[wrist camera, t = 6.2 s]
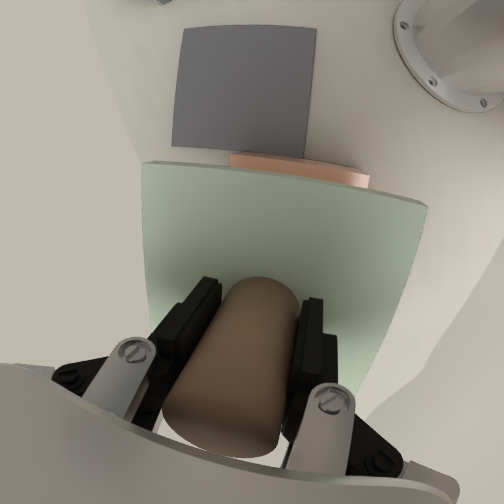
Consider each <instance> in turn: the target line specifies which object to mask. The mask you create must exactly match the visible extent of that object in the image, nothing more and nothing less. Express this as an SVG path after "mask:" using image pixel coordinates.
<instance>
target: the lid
mask: <svg viewBox="0 0 504 504" xmlns="http://www.w3.org/2000/svg"><path fill="white" fill-rule="evenodd" d="M427 211H428V206H426V205H425V204H423V203H422V202H420V201H417V200H413V199H409V198H405V197H401V196H397V195H393V194H389V193H385V192H380V191H376V190H371V189H366V188H362V187H357V186H352V185H347V184H342V183H337V182H331V181H326V180H320V179H314V178H309V177H303V176H296V175H290V174H283V173H276V172H269V171H262V170H254V169H246V168H237V167H228V166H218V165H207V164H196V163H182V162H167V161H151V162H146V163H142V230H143V250H144V265H145V278H146V287H147V297H148V306H149V316H150V324H151V331H152V332H153V331H154V330H155V328H156V327H157V326H158V325H159V323H160V322H161V321H162V320H163V319H164V317H165V316H166V315H167V314H168V312H169V311H170V310H171V309H172V308H173V306H174V305H175V304H176V303H178V302H180V303H182V302H183V301H184V300H185V299H186V297H187V296H188V295H189V294H190V292H191V291H192V290H193V289H194V287H195V286H196V285H197V284H198V282H199V281H200V280H201V279H202V277H204V276H206V277H211V278H216V279H218V283H222V301H221V305H220V307H219V308H218V310H217V312H216V314H215V315H214V317H213V319H212V320H211V322H210V324H209V326H208V327H207V329H206V331H205V332H204V334H203V336H202V338H201V339H200V341H199V343H198V344H197V346H196V348H195V350H194V351H193V353H192V355H191V356H190V358H189V360H188V361H187V363H186V365H185V367H184V368H183V370H182V372H181V373H180V375H179V377H178V379H177V380H176V382H175V384H174V385H173V387H172V389H171V391H170V392H169V394H168V396H167V397H166V399H165V401H164V403H163V405H162V414H163V417H164V419H165V421H166V422H167V423H168V425H169V426H170V427H171V428H172V429H173V430H174V431H175V432H176V433H177V434H178V435H179V436H181V437H182V438H184V439H185V440H187V441H188V442H190V443H191V444H193V445H195V446H197V447H199V448H202V449H204V450H206V451H209V452H212V453H215V454H219V455H223V456H228V457H235V458H254V457H260V456H263V455H266V454H268V453H270V452H272V451H273V450H274V449H275V448H276V446H277V445H278V440H279V435H280V431H281V426H282V421H283V416H284V410H285V405H286V400H287V397H286V393H287V388H288V382H289V377H290V371H291V365H292V359H293V353H294V347H295V341H296V334H297V328H298V321H299V316H300V312H301V308H302V303H303V300H309V297H313V298H319V299H323V333H327V334H333V335H337V341H338V384H339V385H342V386H344V387H345V388H347V389H348V390H349V391H350V392H351V393H352V394H353V396H354V397H355V395H356V393H357V392H358V390H359V388H360V386H361V384H362V382H363V380H364V379H365V377H366V375H367V373H368V371H369V369H370V367H371V365H372V363H373V361H374V359H375V357H376V354H377V352H378V350H379V348H380V346H381V344H382V342H383V339H384V337H385V335H386V333H387V330H388V328H389V326H390V323H391V321H392V318H393V316H394V314H395V311H396V309H397V306H398V303H399V301H400V298H401V296H402V293H403V290H404V287H405V285H406V282H407V279H408V276H409V273H410V270H411V267H412V264H413V261H414V258H415V255H416V251H417V248H418V245H419V241H420V238H421V234H422V230H423V227H424V223H425V219H426V215H427Z"/></svg>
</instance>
